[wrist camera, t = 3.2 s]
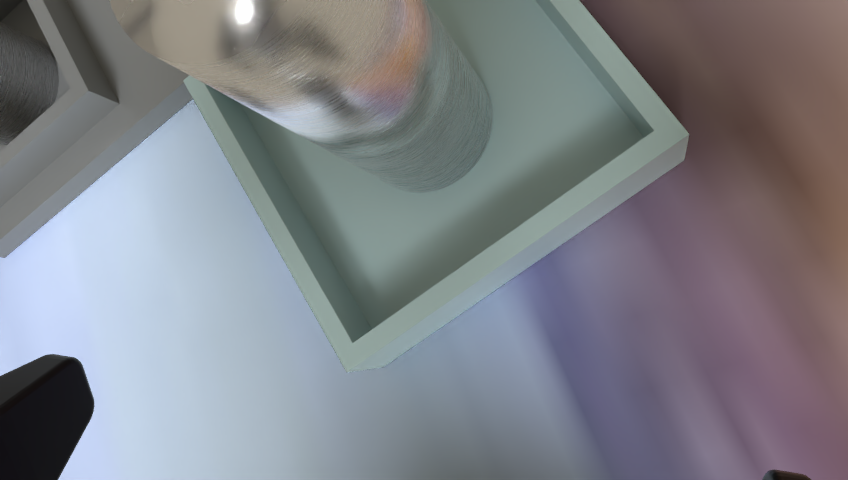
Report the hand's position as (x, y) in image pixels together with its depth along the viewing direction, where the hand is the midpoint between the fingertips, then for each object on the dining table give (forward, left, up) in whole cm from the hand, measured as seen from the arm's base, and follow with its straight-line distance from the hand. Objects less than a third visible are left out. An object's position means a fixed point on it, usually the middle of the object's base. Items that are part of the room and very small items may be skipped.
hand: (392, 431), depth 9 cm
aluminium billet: (+1, +8, -11) cm, 14 cm away
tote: (+1, +8, -12) cm, 15 cm away
